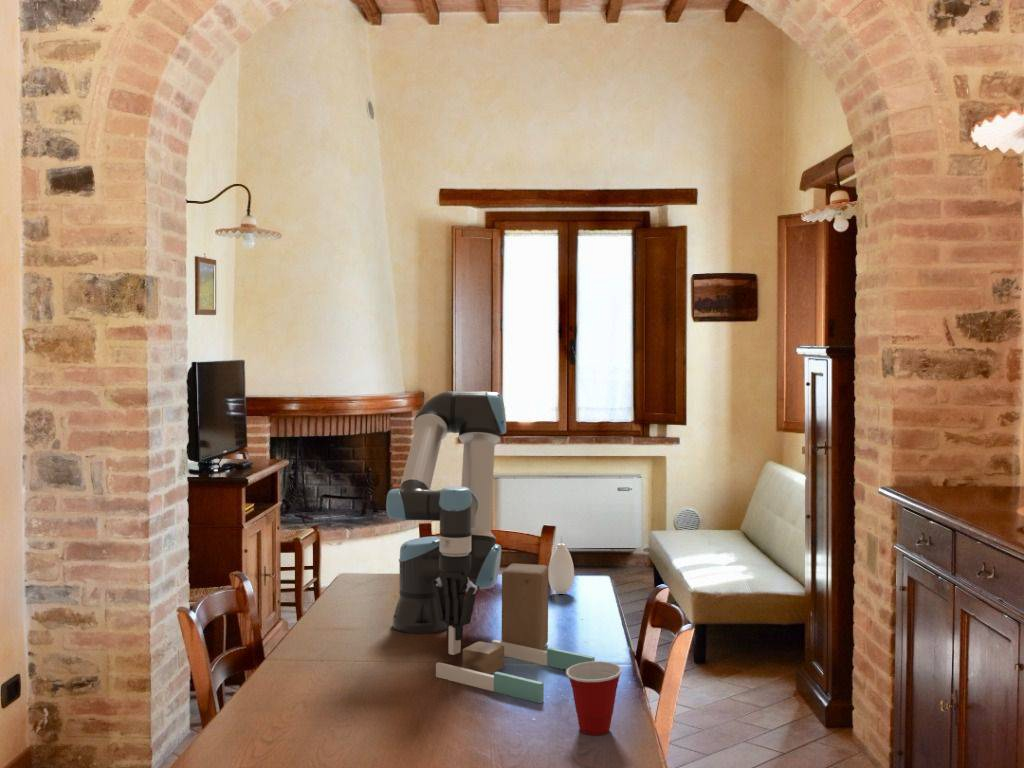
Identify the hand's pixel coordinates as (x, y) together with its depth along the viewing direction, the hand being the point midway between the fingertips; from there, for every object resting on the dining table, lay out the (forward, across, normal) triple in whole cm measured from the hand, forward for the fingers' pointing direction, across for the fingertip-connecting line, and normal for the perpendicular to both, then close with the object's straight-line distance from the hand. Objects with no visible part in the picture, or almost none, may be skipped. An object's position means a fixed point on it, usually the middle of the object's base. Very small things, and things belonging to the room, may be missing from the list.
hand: (454, 652), depth 227 cm
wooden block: (+2, +7, +19) cm, 20 cm away
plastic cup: (+3, +48, -16) cm, 50 cm away
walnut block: (+2, +8, 0) cm, 9 cm away
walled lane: (+2, +16, 0) cm, 16 cm away
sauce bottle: (+2, -14, +69) cm, 71 cm away
